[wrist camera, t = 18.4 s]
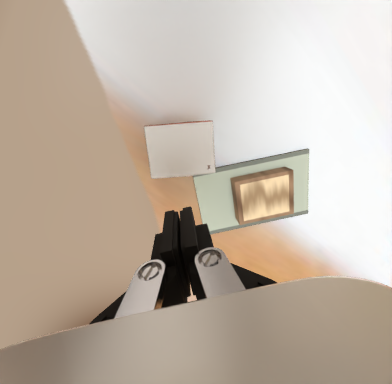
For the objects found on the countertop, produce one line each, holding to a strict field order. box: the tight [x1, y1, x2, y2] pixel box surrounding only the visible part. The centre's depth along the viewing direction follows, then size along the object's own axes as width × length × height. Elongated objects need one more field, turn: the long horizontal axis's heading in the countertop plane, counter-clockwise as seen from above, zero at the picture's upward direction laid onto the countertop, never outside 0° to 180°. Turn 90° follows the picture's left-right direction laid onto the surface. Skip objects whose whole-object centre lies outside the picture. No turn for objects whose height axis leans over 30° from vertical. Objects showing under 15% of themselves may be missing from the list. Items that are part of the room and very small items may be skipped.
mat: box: [193, 149, 309, 234], centre depth 39 cm, size 14×23×1 cm, turn 101°
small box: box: [144, 121, 216, 179], centre depth 28 cm, size 8×6×13 cm
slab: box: [230, 167, 294, 225], centre depth 37 cm, size 9×3×11 cm
